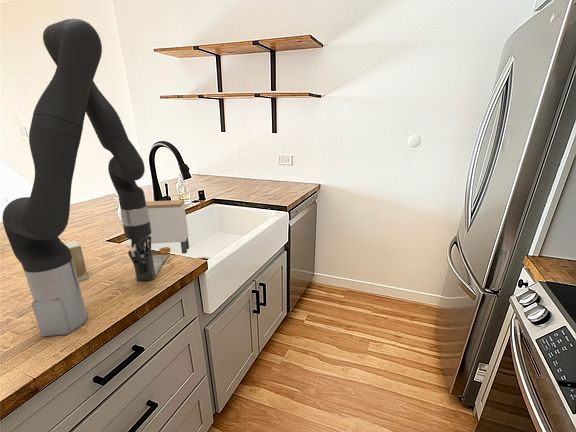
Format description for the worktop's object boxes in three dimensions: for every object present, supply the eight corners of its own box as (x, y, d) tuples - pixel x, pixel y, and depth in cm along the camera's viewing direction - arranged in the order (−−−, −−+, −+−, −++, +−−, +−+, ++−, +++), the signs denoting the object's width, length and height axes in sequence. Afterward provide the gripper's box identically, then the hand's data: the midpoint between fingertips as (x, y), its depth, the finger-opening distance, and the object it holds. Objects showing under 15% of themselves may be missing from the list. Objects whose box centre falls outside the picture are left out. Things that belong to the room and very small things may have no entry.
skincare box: (69, 276, 99) (60, 243, 95) (84, 272, 102) (76, 239, 98) (73, 283, 95) (64, 249, 91) (89, 278, 97) (80, 245, 94)
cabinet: (186, 253, 115) (180, 204, 109) (138, 256, 113) (129, 206, 107) (189, 247, 121) (183, 199, 115) (144, 249, 119) (135, 201, 113)
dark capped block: (153, 279, 96) (148, 251, 93) (137, 280, 95) (131, 252, 92) (167, 257, 111) (163, 233, 108) (153, 258, 111) (149, 233, 108)
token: (169, 254, 116) (168, 250, 115) (158, 254, 115) (158, 251, 115) (171, 250, 119) (171, 246, 119) (161, 250, 119) (161, 247, 118)
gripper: (140, 228, 84) (150, 281, 90) (155, 213, 98) (163, 261, 103) (113, 229, 84) (124, 283, 89) (132, 214, 97) (140, 262, 102)
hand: (145, 270), depth 96 cm, fingers closed on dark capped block, 2 cm apart
